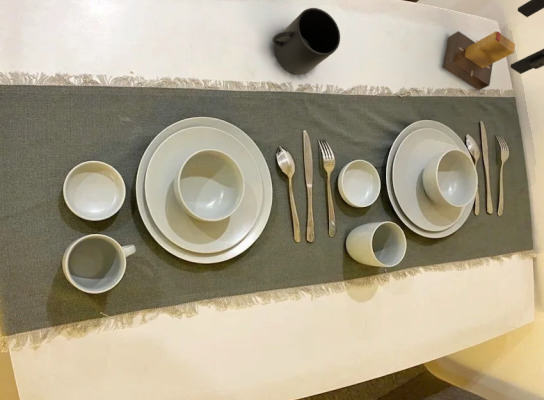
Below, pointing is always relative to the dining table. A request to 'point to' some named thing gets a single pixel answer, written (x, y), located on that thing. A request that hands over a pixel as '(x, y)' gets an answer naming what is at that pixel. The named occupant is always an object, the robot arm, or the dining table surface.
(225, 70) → the dining table surface
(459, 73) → the plate
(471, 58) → the lock knob
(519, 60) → the robot arm
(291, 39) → the mug
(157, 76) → the dining table surface
